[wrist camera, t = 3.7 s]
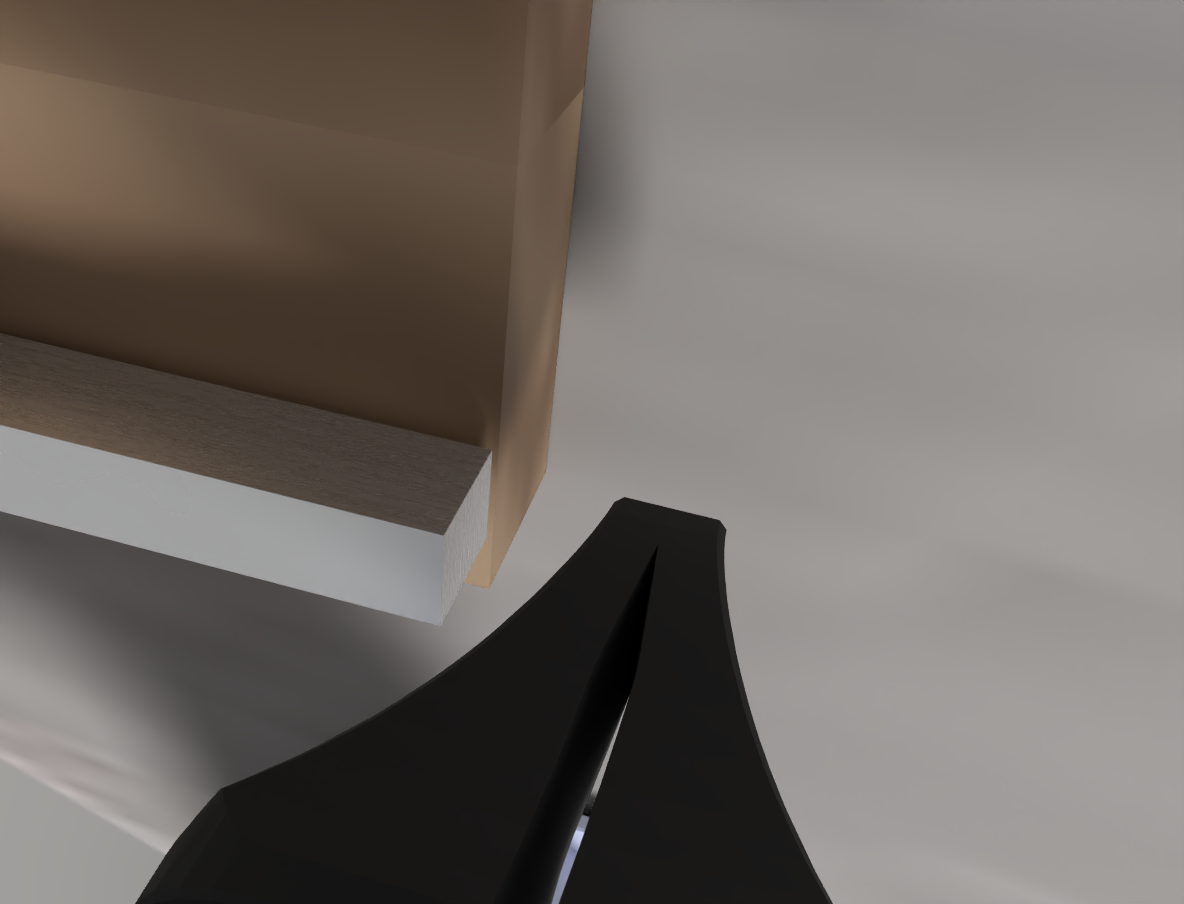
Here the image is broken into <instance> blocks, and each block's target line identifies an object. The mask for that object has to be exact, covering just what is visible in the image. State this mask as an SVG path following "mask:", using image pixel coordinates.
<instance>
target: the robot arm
mask: <svg viewBox="0 0 1184 904" xmlns="http://www.w3.org/2000/svg"><path fill="white" fill-rule="evenodd" d="M725 535H726V528H725V527H724V526H723V524H722V523H721V521H720V520H716V519H712V518H708V517H704V516H700V515H696V514H692V513H688V512H683V511H679V510H675V509H671V508H667V507H663V506H659V505H655V504H651V503H646V502H642V501H638V500H634V499H630V498H626V497H624V498H622V499H620V500H618V501H616V502H614V504H613V505H612V507H611V508H610V510H609V511H608V513H607V514H606V515H605V517H604V518H603V519H602V521H601V522H600V523H599V525H598V526H597V527H596V529H595V530H594V531H593V532H592V534H591V535H590V536H589V537H588V538H587V540H586V541H585V542H584V543H583V544H582V545H581V546H580V548H579V549H578V550H577V551H576V552H575V553H574V554H573V555H572V557H571V558H570V559H569V560H568V561H567V562H566V563H565V564H564V565H563V566H562V567H561V568H560V569H559V570H558V571H557V572H556V573H555V574H554V575H553V576H552V577H551V578H550V580H549V581H548V582H547V583H546V584H545V585H544V586H543V587H542V588H541V589H540V590H539V591H538V592H537V593H536V594H535V595H534V596H533V597H532V598H531V599H529V600H528V601H527V602H526V603H525V604H524V605H523V606H522V607H521V608H519V609H518V610H517V611H516V612H515V613H514V614H513V615H512V616H510V617H509V618H508V619H507V620H506V621H505V622H504V623H503V624H502V625H500V626H499V627H498V628H497V629H496V630H495V631H494V632H492V633H491V634H490V635H489V636H488V637H486V638H485V639H484V640H483V641H482V642H480V643H479V644H478V645H477V646H475V647H474V648H473V649H472V650H470V651H469V652H468V653H466V654H465V655H464V656H463V657H461V658H460V659H458V660H457V661H456V662H454V663H453V664H452V665H450V666H449V667H448V668H446V669H445V670H444V671H442V672H441V673H439V674H438V675H437V676H435V677H434V678H432V679H431V680H429V681H428V682H426V683H425V684H423V685H422V686H420V687H419V688H417V689H416V690H414V691H413V692H411V693H410V694H408V695H407V696H405V697H404V698H402V699H401V700H399V701H397V702H396V703H394V704H393V705H391V706H389V707H388V708H386V709H384V710H383V711H381V712H379V713H378V714H376V715H374V716H373V717H371V718H369V719H367V720H365V721H363V722H362V723H360V724H358V725H356V726H354V727H352V728H350V729H348V730H347V731H345V732H343V733H341V734H339V735H337V736H335V737H334V738H332V739H330V740H328V741H326V742H324V743H322V744H321V745H319V746H317V747H315V748H313V749H311V750H309V751H307V752H305V753H303V754H301V755H298V756H296V757H294V758H292V759H290V760H287V761H285V762H283V763H280V764H278V765H276V766H274V767H271V768H269V769H267V770H264V771H262V772H260V773H257V774H255V775H253V776H250V777H248V778H246V779H244V780H241V781H239V782H237V783H234V784H232V785H229V786H227V787H224V788H222V789H220V790H219V791H218V792H217V793H216V795H215V796H214V797H213V798H212V799H211V800H210V801H209V802H208V803H207V805H206V806H205V807H204V808H203V809H202V810H201V811H200V813H199V814H198V815H197V816H196V817H195V818H194V820H193V821H192V822H191V824H190V825H189V826H188V827H187V828H186V829H185V831H184V832H183V833H182V834H181V835H180V836H179V838H178V839H177V840H176V841H175V843H174V844H173V846H172V847H171V848H170V850H169V851H168V853H167V854H166V856H165V857H164V859H163V860H162V862H161V864H160V865H159V867H158V868H157V870H156V871H155V873H154V875H153V876H152V878H151V879H150V881H149V883H148V884H147V886H146V887H145V889H144V890H143V892H142V894H141V896H140V897H139V899H138V900H137V902H136V903H135V904H833V903H832V901H831V900H830V898H829V896H828V894H827V892H826V890H825V888H824V887H823V885H822V883H821V881H820V879H819V877H818V875H817V874H816V872H815V870H814V868H813V866H812V863H811V861H810V859H809V857H808V855H807V853H806V851H805V849H804V846H803V844H802V842H801V840H800V838H799V836H798V834H797V831H796V829H795V827H794V825H793V823H792V821H791V819H790V817H789V814H788V812H787V810H786V808H785V806H784V803H783V801H782V798H781V796H780V793H779V791H778V788H777V786H776V783H775V781H774V778H773V776H772V773H771V770H770V768H769V765H768V762H767V759H766V757H765V754H764V751H763V748H762V745H761V742H760V739H759V736H758V733H757V730H756V727H755V724H754V721H753V717H752V714H751V710H750V707H749V703H748V700H747V696H746V692H745V688H744V684H743V681H742V677H741V673H740V668H739V664H738V659H737V655H736V650H735V644H734V639H733V633H732V628H731V622H730V617H729V610H728V603H727V594H726V583H725V569H724V546H725ZM629 695H630V696H629ZM628 698H629V699H628ZM627 700H628V702H627ZM626 703H627V706H626V709H625V712H624V715H623V718H622V721H621V724H620V727H619V731H618V734H617V737H616V740H615V743H614V746H613V749H612V752H611V755H610V758H609V761H608V764H607V767H606V770H605V773H604V776H603V779H602V782H601V785H600V788H599V791H598V794H597V797H596V800H595V803H594V805H593V808H592V811H591V814H590V817H588V816H585V815H582V814H583V811H584V809H585V806H586V804H587V801H588V799H589V796H590V794H591V791H592V788H593V786H594V783H595V781H596V778H597V776H598V773H599V771H600V768H601V766H602V763H603V761H604V758H605V756H606V753H607V751H608V748H609V746H610V743H611V741H612V738H613V736H614V733H615V731H616V728H617V726H618V723H619V721H620V718H621V715H622V713H623V710H624V708H625V705H626Z"/></svg>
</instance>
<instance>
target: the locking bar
mask: <svg viewBox="0 0 1184 904" xmlns="http://www.w3.org/2000/svg"><path fill="white" fill-rule="evenodd" d="M491 461H492V450H490V449H486V448H482V447H477V446H473V445H469V444H465V443H460V442H456V441H452V440H448V439H444V438H439V437H435V436H431V435H427V434H422V433H418V432H414V431H410V430H406V429H401V428H397V427H393V426H389V425H385V424H380V423H376V422H372V421H368V420H363V419H359V418H355V417H351V416H347V415H342V414H338V413H334V412H330V411H326V410H321V409H317V408H313V407H309V406H304V405H300V404H296V403H292V402H288V401H283V400H279V399H275V398H271V397H266V396H262V395H258V394H254V393H250V392H245V391H241V390H237V389H233V388H229V387H224V386H220V385H216V384H212V383H207V382H203V381H199V380H195V379H191V378H186V377H182V376H178V375H174V374H170V373H165V372H161V371H157V370H153V369H148V368H144V367H140V366H136V365H132V364H127V363H123V362H119V361H115V360H110V359H106V358H102V357H98V356H94V355H89V354H85V353H81V352H77V351H73V350H68V349H64V348H60V347H56V346H51V345H47V344H43V343H39V342H35V341H30V340H26V339H22V338H18V337H13V336H9V335H5V334H1V333H0V511H2V512H5V513H9V514H13V515H17V516H21V517H25V518H28V519H32V520H36V521H40V522H44V523H47V524H51V525H55V526H59V527H63V528H67V529H70V530H74V531H78V532H82V533H86V534H89V535H93V536H97V537H101V538H105V539H109V540H112V541H116V542H120V543H124V544H128V545H132V546H135V547H139V548H143V549H147V550H151V551H154V552H158V553H162V554H166V555H170V556H174V557H177V558H181V559H185V560H189V561H193V562H196V563H200V564H204V565H208V566H212V567H216V568H219V569H223V570H227V571H231V572H235V573H239V574H242V575H246V576H250V577H254V578H258V579H261V580H265V581H269V582H273V583H277V584H281V585H284V586H288V587H292V588H296V589H300V590H303V591H307V592H311V593H315V594H319V595H323V596H326V597H330V598H334V599H338V600H342V601H346V602H349V603H353V604H357V605H361V606H365V607H368V608H372V609H376V610H380V611H384V612H388V613H391V614H395V615H399V616H403V617H407V618H411V619H414V620H418V621H422V622H426V623H430V624H433V625H437V626H441V625H442V623H443V621H444V619H445V617H446V615H447V613H448V611H449V609H450V608H451V606H452V604H453V602H454V600H455V598H456V596H457V594H458V592H459V590H460V588H461V586H462V584H463V582H464V580H465V578H466V576H467V575H468V573H469V571H470V569H471V567H472V565H473V563H474V561H475V559H476V557H477V555H478V553H479V551H480V549H481V547H482V545H483V543H484V541H485V540H486V538H487V524H488V508H489V492H490V477H491Z"/></svg>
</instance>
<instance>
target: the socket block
mask: <svg viewBox="0 0 1184 904" xmlns="http://www.w3.org/2000/svg"><path fill="white" fill-rule="evenodd" d="M592 3H593V0H0V333H1V334H5V335H9V336H13V337H18V338H22V339H26V340H30V341H35V342H39V343H43V344H47V345H51V346H56V347H60V348H64V349H68V350H73V351H77V352H81V353H85V354H89V355H94V356H98V357H102V358H106V359H110V360H115V361H119V362H123V363H127V364H132V365H136V366H140V367H144V368H148V369H153V370H157V371H161V372H165V373H170V374H174V375H178V376H182V377H186V378H191V379H195V380H199V381H203V382H207V383H212V384H216V385H220V386H224V387H229V388H233V389H237V390H241V391H245V392H250V393H254V394H258V395H262V396H266V397H271V398H275V399H279V400H283V401H288V402H292V403H296V404H300V405H304V406H309V407H313V408H317V409H321V410H326V411H330V412H334V413H338V414H342V415H347V416H351V417H355V418H359V419H363V420H368V421H372V422H376V423H380V424H385V425H389V426H393V427H397V428H401V429H406V430H410V431H414V432H418V433H422V434H427V435H431V436H435V437H439V438H444V439H448V440H452V441H456V442H460V443H465V444H469V445H473V446H477V447H482V448H486V449H490V450H492V461H491V477H490V492H489V508H488V524H487V538H486V540H485V541H484V543H483V545H482V547H481V549H480V551H479V553H478V555H477V557H476V559H475V561H474V563H473V565H472V567H471V569H470V571H469V573H468V575H467V576H466V578H465V580H464V583H468V584H472V585H476V586H480V587H484V588H488V589H489V588H490V586H491V584H492V582H493V580H494V578H495V576H496V574H497V572H498V570H499V567H500V565H501V563H502V561H503V559H504V557H505V555H506V553H507V551H508V549H509V547H510V545H511V543H512V541H513V538H514V536H515V534H516V532H517V530H518V528H519V526H520V524H521V522H522V520H523V518H524V516H525V514H526V512H527V510H528V507H529V505H530V503H531V501H532V499H533V497H534V495H535V493H536V491H537V489H538V487H539V485H540V483H541V481H542V478H543V476H544V474H545V472H546V464H547V454H548V444H549V434H550V424H551V414H552V404H553V394H554V384H555V374H556V364H557V354H558V344H559V334H560V324H561V314H562V304H563V294H564V284H565V274H566V264H567V254H568V244H569V234H570V224H571V214H572V204H573V194H574V184H575V174H576V164H577V154H578V144H579V134H580V124H581V114H582V104H583V94H584V84H585V74H586V64H587V54H588V44H589V34H590V23H591V13H592Z"/></svg>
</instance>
